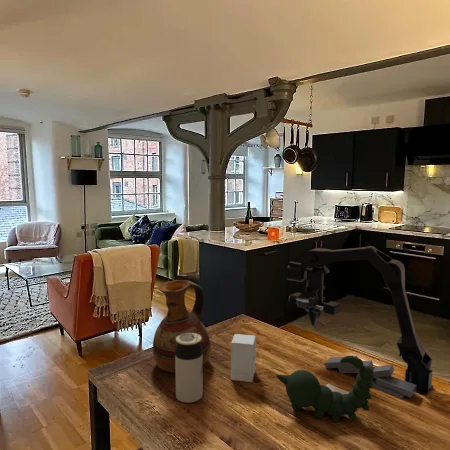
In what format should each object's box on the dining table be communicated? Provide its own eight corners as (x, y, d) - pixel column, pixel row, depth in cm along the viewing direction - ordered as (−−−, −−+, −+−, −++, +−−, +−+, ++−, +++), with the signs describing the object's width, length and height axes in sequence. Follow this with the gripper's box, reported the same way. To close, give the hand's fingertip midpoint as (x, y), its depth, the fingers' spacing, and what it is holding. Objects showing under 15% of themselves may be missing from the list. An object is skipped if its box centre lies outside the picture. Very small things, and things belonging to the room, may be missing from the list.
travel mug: (172, 402, 104) (171, 342, 102) (180, 386, 112) (179, 331, 110) (199, 405, 102) (198, 344, 100) (205, 389, 110) (205, 333, 108)
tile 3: (363, 373, 120) (394, 370, 114) (359, 379, 115) (391, 375, 110) (361, 368, 120) (392, 364, 114) (357, 373, 116) (389, 369, 110)
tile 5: (375, 381, 116) (408, 394, 109) (368, 387, 113) (401, 401, 106) (375, 376, 116) (408, 389, 109) (368, 382, 113) (402, 395, 106)
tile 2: (344, 367, 124) (373, 365, 118) (339, 373, 120) (369, 372, 114) (343, 362, 124) (371, 360, 118) (338, 367, 120) (367, 366, 114)
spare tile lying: (359, 402, 105) (359, 396, 105) (352, 410, 101) (352, 404, 101) (327, 389, 112) (327, 383, 111) (319, 396, 108) (320, 390, 108)
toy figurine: (364, 416, 100) (275, 393, 107) (374, 353, 98) (282, 333, 105) (366, 439, 91) (269, 412, 98) (377, 370, 89) (277, 347, 96)
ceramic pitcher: (142, 362, 127) (140, 279, 123) (188, 345, 140) (188, 270, 137) (174, 385, 112) (173, 292, 109) (222, 364, 126) (222, 280, 122)
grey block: (382, 378, 115) (416, 390, 108) (376, 384, 112) (410, 397, 105) (382, 372, 115) (416, 385, 108) (376, 378, 111) (411, 391, 104)
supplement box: (253, 382, 114) (253, 344, 113) (230, 380, 116) (230, 342, 114) (255, 370, 121) (256, 335, 120) (234, 368, 123) (234, 333, 121)
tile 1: (331, 362, 127) (358, 361, 120) (325, 368, 123) (353, 367, 117) (330, 357, 127) (357, 356, 121) (324, 362, 123) (351, 361, 117)
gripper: (280, 282, 129) (279, 324, 131) (326, 294, 116) (324, 340, 118) (298, 277, 137) (297, 316, 139) (343, 287, 123) (341, 331, 125)
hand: (313, 325), depth 130 cm, fingers closed
